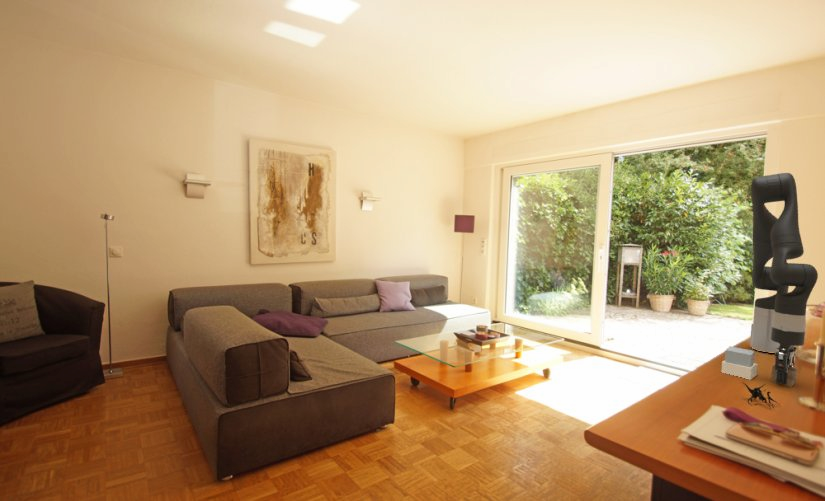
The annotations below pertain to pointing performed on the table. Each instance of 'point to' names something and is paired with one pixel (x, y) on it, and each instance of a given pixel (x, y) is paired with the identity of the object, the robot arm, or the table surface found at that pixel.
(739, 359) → the grey rectangular block
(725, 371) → the base block
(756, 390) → the creature
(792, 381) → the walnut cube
